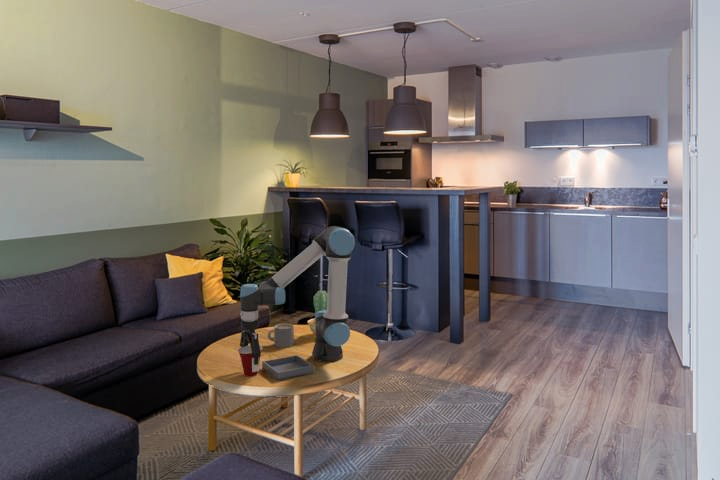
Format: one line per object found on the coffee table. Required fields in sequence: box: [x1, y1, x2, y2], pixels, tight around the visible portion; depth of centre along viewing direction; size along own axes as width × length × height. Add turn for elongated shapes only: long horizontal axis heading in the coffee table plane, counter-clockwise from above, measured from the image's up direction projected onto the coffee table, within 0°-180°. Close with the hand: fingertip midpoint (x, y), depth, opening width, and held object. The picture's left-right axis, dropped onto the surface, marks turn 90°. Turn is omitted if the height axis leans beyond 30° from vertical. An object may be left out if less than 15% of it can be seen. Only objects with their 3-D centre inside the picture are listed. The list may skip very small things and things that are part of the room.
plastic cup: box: [237, 345, 263, 377], centre depth 246 cm, size 11×11×12 cm
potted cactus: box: [306, 290, 328, 338], centre depth 306 cm, size 15×15×25 cm
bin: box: [261, 354, 315, 381], centre depth 250 cm, size 18×18×4 cm
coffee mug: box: [267, 323, 295, 349], centre depth 289 cm, size 13×10×10 cm
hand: (250, 367), depth 246 cm, fingers open, 11 cm apart
